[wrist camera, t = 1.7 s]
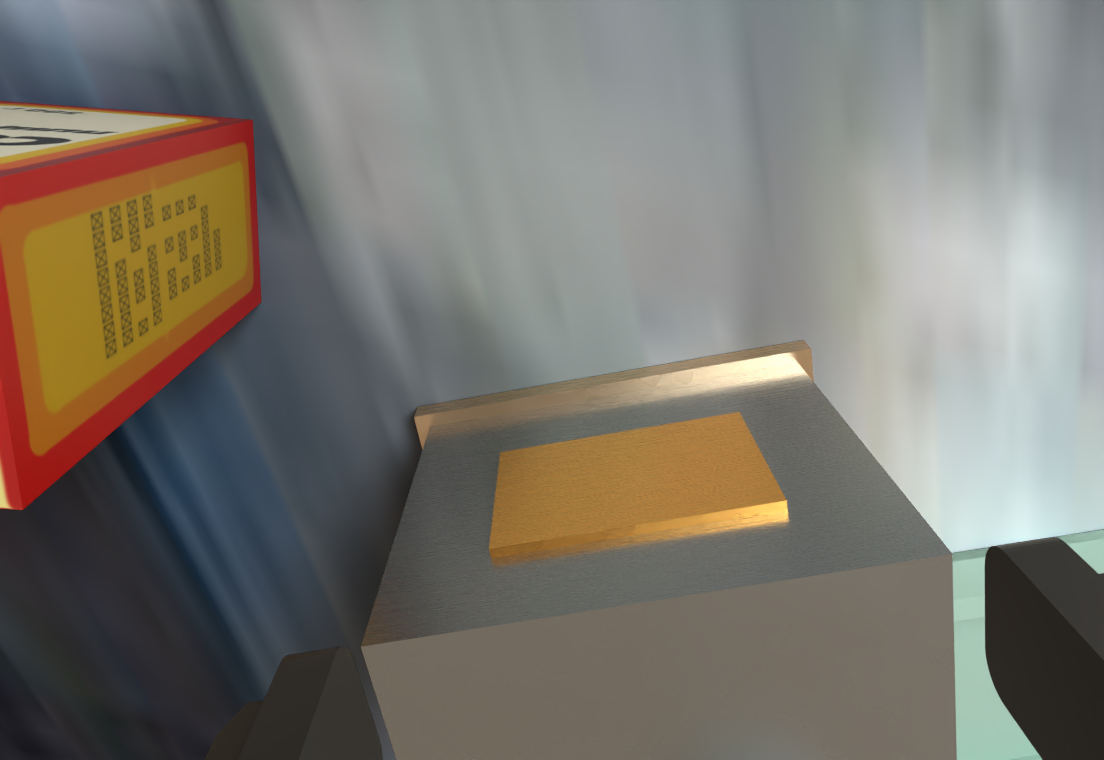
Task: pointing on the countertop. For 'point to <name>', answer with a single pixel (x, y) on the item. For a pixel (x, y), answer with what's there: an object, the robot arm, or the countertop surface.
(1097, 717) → the robot arm
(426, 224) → the countertop surface
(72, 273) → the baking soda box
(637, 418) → the grey unit
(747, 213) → the countertop surface
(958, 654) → the tray
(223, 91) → the countertop surface
